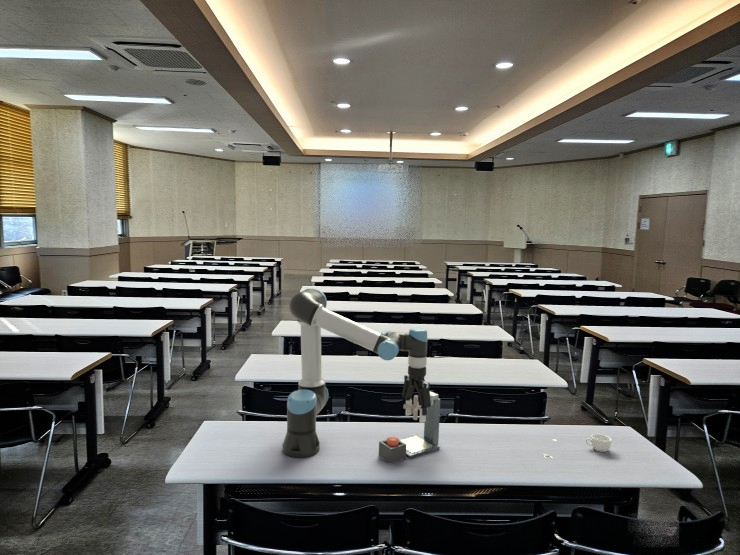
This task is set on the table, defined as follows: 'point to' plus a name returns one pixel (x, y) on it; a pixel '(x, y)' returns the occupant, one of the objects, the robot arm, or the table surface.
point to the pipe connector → (414, 407)
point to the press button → (392, 441)
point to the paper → (547, 454)
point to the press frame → (425, 432)
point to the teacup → (600, 442)
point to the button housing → (392, 452)
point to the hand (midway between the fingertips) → (415, 418)
